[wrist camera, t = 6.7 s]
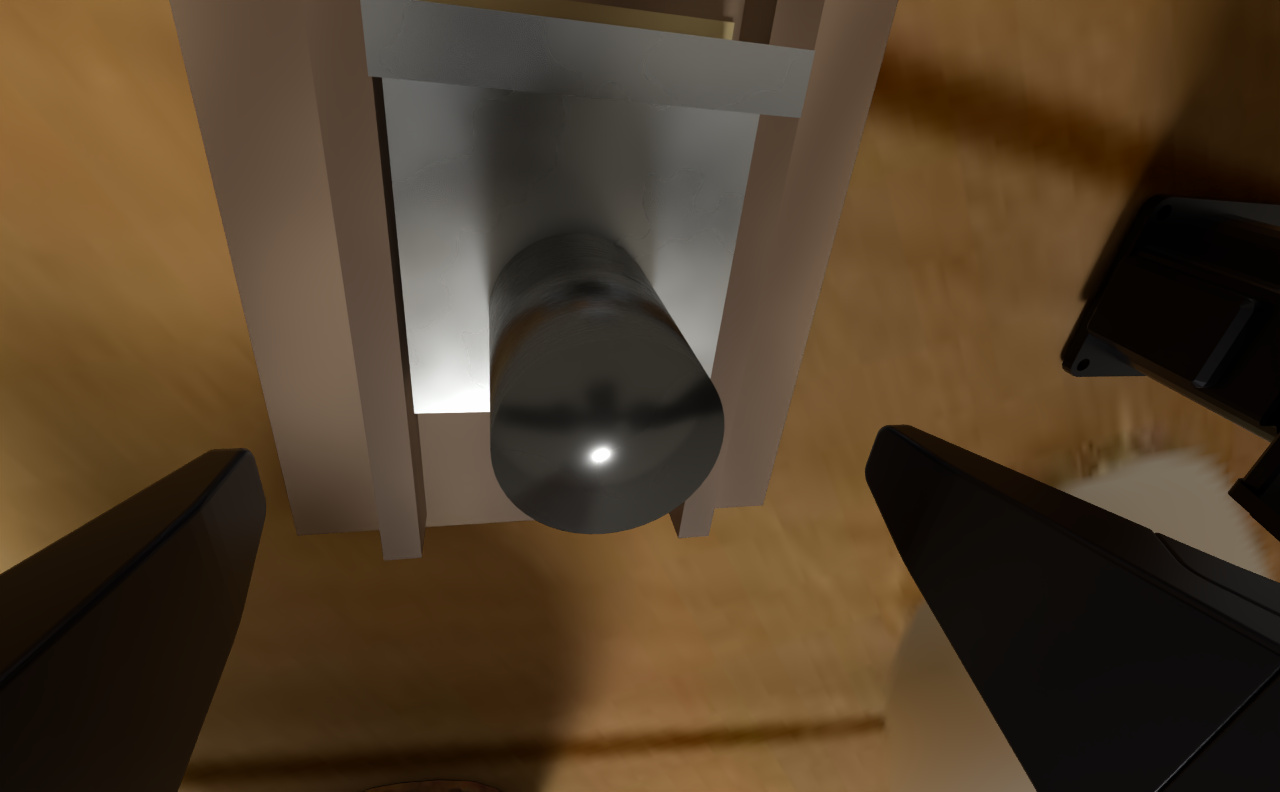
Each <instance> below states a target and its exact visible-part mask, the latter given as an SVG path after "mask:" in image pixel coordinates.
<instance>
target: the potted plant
mask: <svg viewBox="0 0 1280 792" xmlns="http://www.w3.org/2000/svg"><path fill="white" fill-rule="evenodd" d="M364 792H500V791H498V790H497V789H495V788H492V787H489V786H486V785H482V784H479V783H476V782H472V781H443V780H434V781H422V782H411V783H399V784H394V785H388V786H382V787H377V788H371V789H369V790H367V791H364Z"/></svg>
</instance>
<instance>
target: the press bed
mask: <svg viewBox="0 0 1280 792" xmlns="http://www.w3.org/2000/svg"><path fill="white" fill-rule="evenodd" d="M169 1H170V5H171V9H172V14H173V18H174V22H175V26H176V30H177V34H178V39H179V43H180V47H181V51H182V55H183V60H184V64H185V68H186V72H187V76H188V80H189V85H190V89H191V93H192V97H193V101H194V106H195V110H196V114H197V118H198V122H199V126H200V131H201V135H202V139H203V143H204V147H205V152H206V156H207V160H208V164H209V168H210V172H211V177H212V181H213V185H214V189H215V193H216V197H217V202H218V206H219V210H220V214H221V218H222V223H223V227H224V231H225V235H226V239H227V243H228V248H229V252H230V256H231V260H232V264H233V269H234V273H235V277H236V281H237V285H238V289H239V294H240V298H241V302H242V306H243V310H244V315H245V319H246V323H247V327H248V331H249V335H250V340H251V344H252V348H253V352H254V356H255V361H256V365H257V369H258V373H259V377H260V381H261V386H262V390H263V394H264V398H265V402H266V406H267V411H268V415H269V419H270V423H271V427H272V432H273V436H274V440H275V444H276V448H277V452H278V457H279V461H280V465H281V469H282V473H283V478H284V482H285V486H286V490H287V494H288V498H289V503H290V507H291V511H292V515H293V519H294V524H295V528H296V532H297V535H311V534H327V533H342V532H358V531H373V530H380V536H381V543H382V550H383V557H384V560H397V559H410V558H422V552H423V543H424V535H425V527H435V526H450V525H466V524H481V523H496V522H512V521H527V520H534V519H533V518H531V517H529V516H528V515H526V514H525V513H523V512H522V511H521V510H520V509H518V508H517V507H516V506H515V505H514V504H513V503H512V502H511V501H510V500H509V498H508V497H507V496H506V494H505V493H504V492H503V490H502V489H501V487H500V485H499V483H498V481H497V479H496V477H495V474H494V470H493V467H492V462H491V453H490V412H462V413H420V414H414V405H413V394H412V384H411V374H410V363H409V353H408V342H407V332H406V322H405V311H404V301H403V291H402V280H401V270H400V259H399V249H398V239H397V228H396V218H395V208H394V197H393V187H392V176H391V166H390V156H389V145H388V135H387V124H386V114H385V104H384V93H383V83H382V77H372V76H368V69H367V60H366V50H365V41H364V31H363V22H362V13H361V3H360V0H169ZM418 1H426V2H434V3H442V4H450V5H458V6H466V7H474V8H482V9H490V10H498V11H505V12H513V13H521V14H529V15H537V16H545V17H553V18H561V19H569V20H577V21H585V22H593V23H600V24H608V25H616V26H624V27H632V28H640V29H648V30H656V31H664V32H672V33H680V34H687V35H695V36H703V37H711V38H719V39H727V40H735V41H743V42H751V43H759V44H767V45H775V46H782V47H790V48H798V49H806V50H814V51H815V54H814V59H813V64H812V68H811V73H810V77H809V82H808V86H807V91H806V96H805V100H804V105H803V109H802V114H801V118H794V117H783V116H773V115H763V114H760V117H759V122H758V127H757V133H756V138H755V143H754V149H753V154H752V159H751V165H750V170H749V175H748V181H747V186H746V191H745V197H744V202H743V208H742V213H741V218H740V224H739V229H738V234H737V240H736V245H735V250H734V256H733V261H732V266H731V272H730V277H729V282H728V288H727V293H726V299H725V304H724V309H723V315H722V320H721V325H720V331H719V336H718V341H717V347H716V352H715V357H714V363H713V368H712V373H711V381H712V383H713V385H714V386H715V388H716V390H717V392H718V394H719V397H720V400H721V403H722V406H723V412H724V426H725V430H724V437H723V443H722V446H721V450H720V453H719V456H718V458H717V460H716V463H715V465H714V467H713V468H712V470H711V472H710V473H709V475H708V477H707V478H706V479H705V481H704V482H703V483H702V484H701V486H700V487H699V488H698V489H697V490H696V491H695V492H694V493H693V494H692V495H691V496H690V497H689V498H688V499H687V500H685V501H684V502H683V503H682V504H681V505H679V506H678V507H676V508H675V509H673V510H672V511H671V512H669V514H670V517H671V520H672V522H673V525H674V528H675V531H676V533H677V536H678V538H687V537H700V536H709V532H710V527H711V522H712V518H713V513H714V509H715V508H728V507H743V506H759V505H763V502H764V499H765V495H766V491H767V488H768V484H769V480H770V476H771V473H772V469H773V465H774V461H775V458H776V454H777V450H778V447H779V443H780V439H781V435H782V432H783V428H784V424H785V420H786V417H787V413H788V409H789V406H790V402H791V398H792V394H793V391H794V387H795V383H796V379H797V376H798V372H799V368H800V365H801V361H802V357H803V353H804V350H805V346H806V342H807V338H808V335H809V331H810V327H811V324H812V320H813V316H814V312H815V309H816V305H817V301H818V297H819V294H820V290H821V286H822V283H823V279H824V275H825V271H826V268H827V264H828V260H829V256H830V253H831V249H832V245H833V242H834V238H835V234H836V230H837V227H838V223H839V219H840V215H841V212H842V208H843V204H844V201H845V197H846V193H847V189H848V186H849V182H850V178H851V175H852V171H853V167H854V163H855V160H856V156H857V152H858V148H859V145H860V141H861V137H862V134H863V130H864V126H865V122H866V119H867V115H868V111H869V107H870V104H871V100H872V96H873V93H874V89H875V85H876V81H877V78H878V74H879V70H880V66H881V63H882V59H883V55H884V52H885V48H886V44H887V40H888V37H889V33H890V29H891V25H892V22H893V18H894V14H895V11H896V7H897V3H898V0H418Z"/></svg>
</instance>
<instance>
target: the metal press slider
mask: <svg viewBox="0 0 1280 792" xmlns="http://www.w3.org/2000/svg"><path fill="white" fill-rule="evenodd" d="M360 3H361V13H362V22H363V31H364V41H365V50H366V60H367V69H368V76H372V77H382V83H383V93H384V104H385V114H386V124H387V135H388V145H389V156H390V166H391V176H392V187H393V197H394V208H395V218H396V228H397V239H398V249H399V259H400V270H401V280H402V291H403V301H404V311H405V322H406V332H407V342H408V353H409V363H410V374H411V384H412V394H413V405H414V414H420V413H462V412H490V453H491V462H492V467H493V470H494V474H495V477H496V479H497V481H498V483H499V485H500V487H501V489H502V490H503V492H504V493H505V494H506V496H507V497H508V498H509V500H510V501H511V502H512V503H513V504H514V505H515V506H516V507H517V508H518V509H520V510H521V511H522V512H523V513H525V514H526V515H528V516H529V517H531V518H533V519H534V520H536V521H538V522H540V523H542V524H545V525H547V526H549V527H552V528H556V529H559V530H562V531H568V532H573V533H582V534H605V533H613V532H619V531H624V530H628V529H632V528H635V527H639V526H642V525H645V524H647V523H649V522H652V521H654V520H656V519H658V518H660V517H662V516H664V515H665V514H667V513H669V512H671V511H672V510H673V509H675V508H676V507H678V506H679V505H681V504H682V503H683V502H684V501H685V500H687V499H688V498H689V497H690V496H691V495H692V494H693V493H694V492H695V491H696V490H697V489H698V488H699V487H700V486H701V484H702V483H703V482H704V481H705V479H706V478H707V477H708V475H709V473H710V472H711V470H712V468H713V467H714V465H715V463H716V460H717V458H718V456H719V453H720V450H721V446H722V443H723V437H724V430H725V426H724V412H723V406H722V403H721V400H720V397H719V394H718V392H717V390H716V388H715V386H714V385H713V383H712V381H711V373H712V368H713V363H714V357H715V352H716V347H717V341H718V336H719V331H720V325H721V320H722V315H723V309H724V304H725V299H726V293H727V288H728V282H729V277H730V272H731V266H732V261H733V256H734V250H735V245H736V240H737V234H738V229H739V224H740V218H741V213H742V208H743V202H744V197H745V191H746V186H747V181H748V175H749V170H750V165H751V159H752V154H753V149H754V143H755V138H756V133H757V127H758V122H759V117H760V114H763V115H773V116H783V117H794V118H801V114H802V109H803V105H804V100H805V96H806V91H807V86H808V82H809V77H810V73H811V68H812V64H813V59H814V54H815V51H814V50H806V49H798V48H790V47H782V46H775V45H767V44H759V43H751V42H743V41H735V40H727V39H719V38H711V37H703V36H695V35H687V34H680V33H672V32H664V31H656V30H648V29H640V28H632V27H624V26H616V25H608V24H600V23H593V22H585V21H577V20H569V19H561V18H553V17H545V16H537V15H529V14H521V13H513V12H505V11H498V10H490V9H482V8H474V7H466V6H458V5H450V4H442V3H434V2H426V1H418V0H360Z"/></svg>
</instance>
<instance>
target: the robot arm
mask: <svg viewBox="0 0 1280 792" xmlns="http://www.w3.org/2000/svg"><path fill="white" fill-rule="evenodd" d="M1062 367H1063V369H1064V370H1065V371H1066V372H1068V373H1069V374H1071V375H1073V376H1076V377H1096V376H1148V377H1150V378H1152V379H1154V380H1155V381H1157V382H1159V383H1161V384H1163V385H1165V386H1167V387H1168V388H1170V389H1172V390H1174V391H1176V392H1178V393H1180V394H1181V395H1183V396H1185V397H1187V398H1189V399H1191V400H1193V401H1194V402H1196V403H1198V404H1200V405H1202V406H1204V407H1206V408H1207V409H1209V410H1211V411H1213V412H1215V413H1217V414H1219V415H1220V416H1222V417H1224V418H1226V419H1228V420H1230V421H1232V422H1233V423H1235V424H1237V425H1239V426H1241V427H1243V428H1245V429H1246V430H1248V431H1250V432H1252V433H1254V434H1256V435H1258V436H1259V437H1261V438H1263V439H1265V440H1267V441H1269V442H1271V444H1270V445H1269V446H1268V448H1267V449H1266V450H1265V451H1264V453H1263V454H1262V455H1261V457H1260V458H1259V459H1258V460H1257V462H1256V463H1255V464H1254V465H1253V467H1252V468H1251V469H1250V471H1249V472H1248V473H1247V474H1246V476H1245V477H1244V478H1239V479H1238V480H1237V481H1236V482H1235V484H1234V485H1233V486H1232V488H1231V489H1230V490H1229V491H1228V494H1229V495H1230V496H1231V497H1232V498H1233V499H1234V500H1235V501H1236V502H1237V503H1239V504H1240V505H1241V506H1242V507H1243V508H1244V509H1245V510H1246V511H1248V512H1249V513H1250V515H1251V516H1252V517H1253V518H1254V519H1255V520H1256V521H1257V522H1258V523H1259V524H1260V525H1262V526H1263V527H1264V528H1265V529H1266V530H1267V531H1268V532H1270V533H1271V534H1272V535H1273V536H1274V537H1275V538H1276V539H1277V540H1279V541H1280V203H1271V202H1258V201H1245V200H1232V199H1219V198H1206V197H1193V196H1180V195H1167V194H1158V195H1155V196H1153V197H1151V198H1150V199H1149V200H1148V201H1147V202H1145V204H1144V205H1143V207H1142V208H1141V210H1140V212H1139V214H1138V216H1137V218H1136V220H1135V221H1134V223H1133V225H1132V227H1131V229H1130V231H1129V233H1128V235H1127V237H1126V239H1125V241H1124V243H1123V245H1122V247H1121V249H1120V251H1119V253H1118V255H1117V257H1116V259H1115V261H1114V263H1113V264H1112V266H1111V268H1110V270H1109V272H1108V274H1107V276H1106V278H1105V280H1104V282H1103V284H1102V286H1101V288H1100V290H1099V292H1098V294H1097V296H1096V298H1095V300H1094V302H1093V304H1092V306H1091V307H1090V309H1089V311H1088V313H1087V315H1086V317H1085V319H1084V321H1083V323H1082V325H1081V327H1080V329H1079V331H1078V333H1077V335H1076V337H1075V339H1074V341H1073V343H1072V345H1071V347H1070V349H1069V350H1068V352H1067V354H1066V356H1065V358H1064V360H1063V363H1062ZM865 477H866V481H867V484H868V486H869V488H870V490H871V493H872V495H873V497H874V499H875V501H876V503H877V506H878V508H879V510H880V512H881V514H882V517H883V519H884V521H885V523H886V525H887V528H888V530H889V532H890V534H891V536H892V539H893V541H894V543H895V545H896V547H897V549H898V551H899V554H900V556H901V558H902V560H903V562H904V564H905V565H906V567H907V569H908V571H909V573H910V574H911V576H912V578H913V580H914V581H915V583H916V585H917V587H918V588H919V590H920V592H921V593H922V595H923V597H924V599H925V600H926V602H927V604H928V605H929V607H930V609H931V611H932V612H933V614H934V616H935V617H936V619H937V621H938V622H939V624H940V626H941V628H942V629H943V631H944V633H945V635H946V636H947V638H948V640H949V641H950V643H951V645H952V647H953V648H954V650H955V652H956V653H957V655H958V657H959V659H960V660H961V662H962V664H963V665H964V667H965V669H966V671H967V672H968V674H969V676H970V678H971V679H972V681H973V683H974V684H975V686H976V688H977V690H978V691H979V693H980V695H981V696H982V698H983V700H984V702H985V703H986V705H987V707H988V708H989V710H990V712H991V714H992V715H993V717H994V719H995V721H996V722H997V724H998V726H999V727H1000V729H1001V731H1002V732H1003V734H1004V736H1005V738H1006V739H1007V741H1008V743H1009V745H1010V746H1011V748H1012V750H1013V752H1014V753H1015V755H1016V757H1017V758H1018V760H1019V762H1020V763H1021V765H1022V767H1023V769H1024V770H1025V772H1026V774H1027V775H1028V777H1029V779H1030V781H1031V782H1032V784H1033V786H1034V788H1035V789H1036V791H1037V792H1280V583H1278V582H1276V581H1273V580H1271V579H1268V578H1266V577H1263V576H1261V575H1258V574H1256V573H1253V572H1251V571H1248V570H1246V569H1243V568H1240V567H1238V566H1235V565H1233V564H1231V563H1229V562H1226V561H1224V560H1221V559H1219V558H1217V557H1214V556H1212V555H1210V554H1207V553H1205V552H1202V551H1200V550H1198V549H1195V548H1193V547H1190V546H1188V545H1186V544H1183V543H1181V542H1179V541H1177V540H1174V539H1172V538H1170V537H1167V536H1165V535H1163V534H1160V533H1154V532H1153V531H1152V530H1150V529H1148V528H1146V527H1144V526H1142V525H1139V524H1137V523H1134V522H1132V521H1130V520H1128V519H1125V518H1123V517H1121V516H1118V515H1116V514H1114V513H1112V512H1109V511H1107V510H1104V509H1102V508H1100V507H1098V506H1095V505H1093V504H1091V503H1088V502H1086V501H1084V500H1081V499H1079V498H1077V497H1074V496H1072V495H1070V494H1068V493H1065V492H1063V491H1061V490H1058V489H1056V488H1054V487H1051V486H1049V485H1047V484H1044V483H1042V482H1040V481H1037V480H1035V479H1033V478H1030V477H1028V476H1026V475H1024V474H1021V473H1019V472H1017V471H1014V470H1012V469H1010V468H1007V467H1005V466H1003V465H1000V464H998V463H996V462H993V461H991V460H989V459H987V458H984V457H982V456H980V455H977V454H975V453H973V452H970V451H968V450H966V449H963V448H961V447H959V446H956V445H954V444H952V443H949V442H947V441H945V440H943V439H940V438H938V437H936V436H933V435H931V434H929V433H926V432H924V431H922V430H919V429H917V428H915V427H912V426H910V425H886V426H884V427H882V428H881V429H880V430H879V431H878V434H877V436H876V439H875V442H874V444H873V447H872V450H871V453H870V455H869V458H868V461H867V464H866V467H865ZM265 515H266V500H265V496H264V492H263V488H262V484H261V481H260V477H259V473H258V469H257V465H256V462H255V458H254V456H253V454H252V453H251V451H249V450H248V449H245V448H236V449H214V450H210V451H208V452H206V453H204V454H203V455H201V456H199V457H198V458H196V459H194V460H193V461H191V462H189V463H188V464H186V465H184V466H183V467H181V468H179V469H177V470H176V471H174V472H172V473H171V474H169V475H167V476H166V477H164V478H162V479H161V480H159V481H157V482H155V483H154V484H152V485H150V486H149V487H147V488H145V489H144V490H142V491H140V492H139V493H137V494H135V495H134V496H132V497H130V498H128V499H127V500H125V501H123V502H122V503H120V504H118V505H117V506H115V507H113V508H112V509H110V510H108V511H106V512H105V513H103V514H101V515H100V516H98V517H96V518H95V519H93V520H91V521H90V522H88V523H86V524H84V525H83V526H81V527H79V528H78V529H76V530H74V531H73V532H71V533H69V534H68V535H66V536H64V537H63V538H61V539H59V540H57V541H56V542H54V543H52V544H51V545H49V546H47V547H46V548H44V549H42V550H41V551H39V552H37V553H35V554H34V555H32V556H30V557H29V558H27V559H25V560H24V561H22V562H20V563H19V564H17V565H15V566H13V567H12V568H10V569H8V570H7V571H5V572H3V573H2V574H0V792H178V789H179V787H180V784H181V781H182V779H183V776H184V773H185V771H186V768H187V765H188V763H189V760H190V757H191V755H192V752H193V749H194V747H195V744H196V741H197V739H198V736H199V733H200V730H201V728H202V725H203V722H204V720H205V717H206V714H207V712H208V709H209V706H210V704H211V701H212V698H213V696H214V693H215V690H216V688H217V685H218V682H219V680H220V677H221V674H222V672H223V669H224V666H225V664H226V661H227V658H228V656H229V653H230V650H231V648H232V645H233V642H234V639H235V636H236V633H237V630H238V627H239V624H240V621H241V617H242V613H243V609H244V605H245V601H246V597H247V593H248V588H249V584H250V580H251V576H252V571H253V567H254V563H255V559H256V554H257V550H258V546H259V542H260V537H261V533H262V529H263V525H264V521H265Z"/></svg>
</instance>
